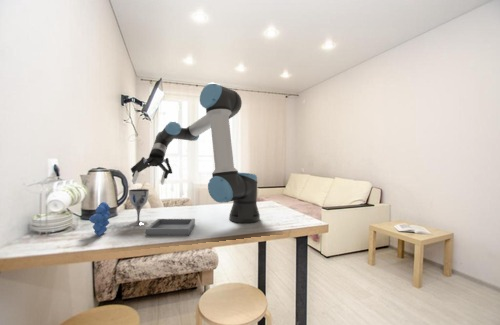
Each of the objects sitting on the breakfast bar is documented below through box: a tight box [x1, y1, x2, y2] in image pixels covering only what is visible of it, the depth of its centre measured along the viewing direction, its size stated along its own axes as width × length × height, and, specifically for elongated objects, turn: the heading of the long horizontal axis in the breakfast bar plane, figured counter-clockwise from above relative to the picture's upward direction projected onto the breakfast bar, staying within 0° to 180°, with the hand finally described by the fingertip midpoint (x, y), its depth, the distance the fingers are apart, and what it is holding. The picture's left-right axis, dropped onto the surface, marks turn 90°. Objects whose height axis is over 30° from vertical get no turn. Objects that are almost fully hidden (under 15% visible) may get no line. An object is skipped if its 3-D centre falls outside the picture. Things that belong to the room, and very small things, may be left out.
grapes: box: [88, 201, 111, 237], centre depth 86 cm, size 12×7×12 cm, turn 16°
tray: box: [145, 218, 196, 237], centre depth 94 cm, size 16×15×3 cm
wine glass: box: [128, 188, 150, 227], centre depth 101 cm, size 8×8×15 cm
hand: (147, 182), depth 112 cm, fingers open, 13 cm apart
